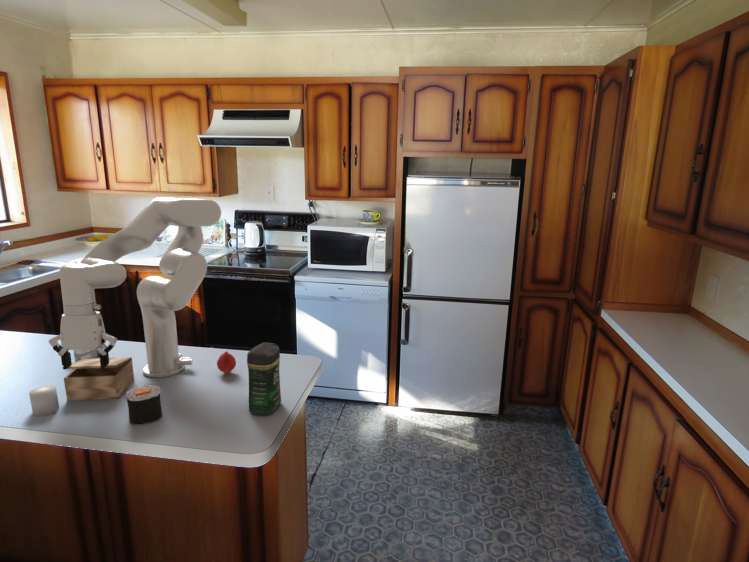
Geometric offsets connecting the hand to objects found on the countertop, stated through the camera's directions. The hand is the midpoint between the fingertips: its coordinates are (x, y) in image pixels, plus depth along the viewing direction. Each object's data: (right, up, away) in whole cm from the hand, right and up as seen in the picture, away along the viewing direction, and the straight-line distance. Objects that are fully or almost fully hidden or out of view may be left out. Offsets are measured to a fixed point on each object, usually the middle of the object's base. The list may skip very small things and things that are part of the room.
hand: (86, 367), depth 131 cm
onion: (+33, -6, +21) cm, 40 cm away
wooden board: (0, 0, +7) cm, 7 cm away
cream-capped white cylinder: (-9, -11, -3) cm, 15 cm away
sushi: (+20, -13, -5) cm, 24 cm away
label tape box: (-18, -3, +31) cm, 36 cm away
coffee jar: (+51, -12, 0) cm, 52 cm away
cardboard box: (-1, -8, +9) cm, 12 cm away
